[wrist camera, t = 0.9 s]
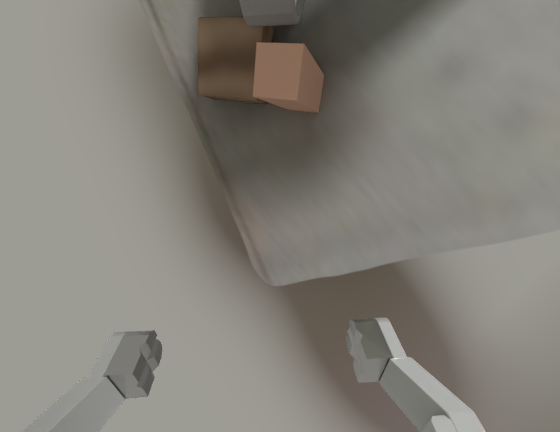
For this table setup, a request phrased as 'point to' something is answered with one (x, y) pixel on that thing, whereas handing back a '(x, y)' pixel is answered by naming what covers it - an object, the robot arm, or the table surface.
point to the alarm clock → (271, 12)
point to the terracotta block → (287, 76)
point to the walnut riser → (229, 57)
